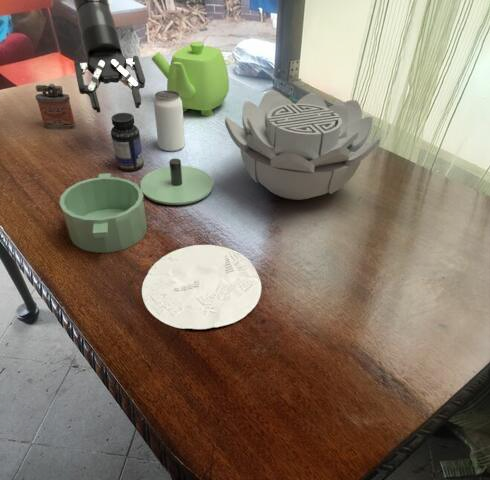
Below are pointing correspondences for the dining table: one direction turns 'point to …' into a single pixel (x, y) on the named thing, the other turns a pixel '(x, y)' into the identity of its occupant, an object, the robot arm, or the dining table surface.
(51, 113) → the lighter
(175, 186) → the lid
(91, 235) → the pot
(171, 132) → the can
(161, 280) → the plaque
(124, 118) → the pill bottle
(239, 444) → the dining table surface
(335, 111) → the decorative bowl
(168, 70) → the teapot
